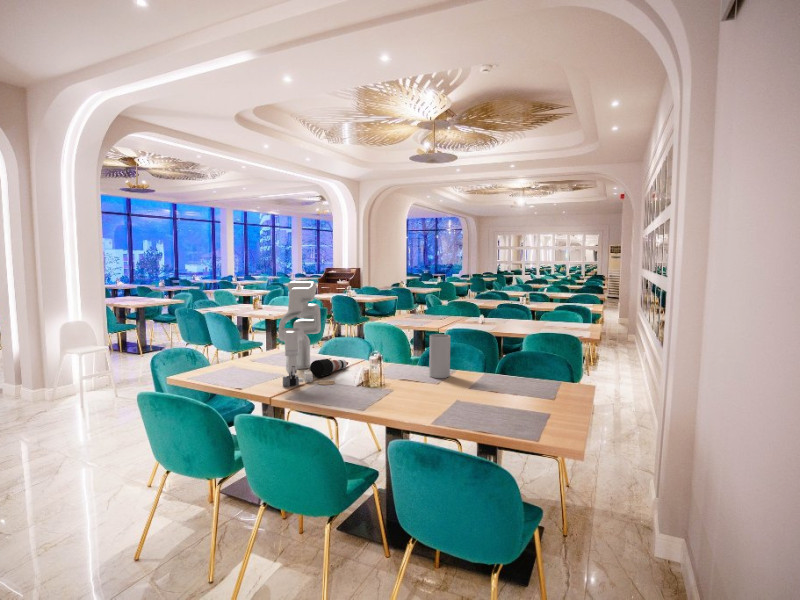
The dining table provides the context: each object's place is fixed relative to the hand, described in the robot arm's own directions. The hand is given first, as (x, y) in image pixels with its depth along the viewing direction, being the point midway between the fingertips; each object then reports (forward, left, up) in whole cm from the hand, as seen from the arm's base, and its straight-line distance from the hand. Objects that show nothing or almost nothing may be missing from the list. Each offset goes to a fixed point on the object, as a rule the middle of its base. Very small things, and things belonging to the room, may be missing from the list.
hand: (292, 384), depth 257 cm
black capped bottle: (-22, +28, -1) cm, 36 cm away
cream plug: (-6, +10, 0) cm, 12 cm away
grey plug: (0, 0, 0) cm, 0 cm away
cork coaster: (+2, +19, 0) cm, 19 cm away
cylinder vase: (+11, +87, -1) cm, 88 cm away
